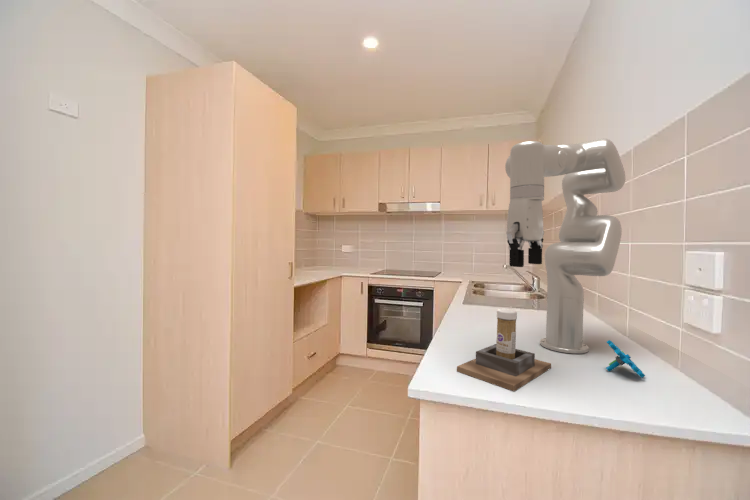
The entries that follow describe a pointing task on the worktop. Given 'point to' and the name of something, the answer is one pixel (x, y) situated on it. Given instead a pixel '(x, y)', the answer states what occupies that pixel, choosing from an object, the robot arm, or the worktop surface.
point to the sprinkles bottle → (506, 333)
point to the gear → (622, 360)
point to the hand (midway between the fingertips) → (526, 265)
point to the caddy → (504, 368)
